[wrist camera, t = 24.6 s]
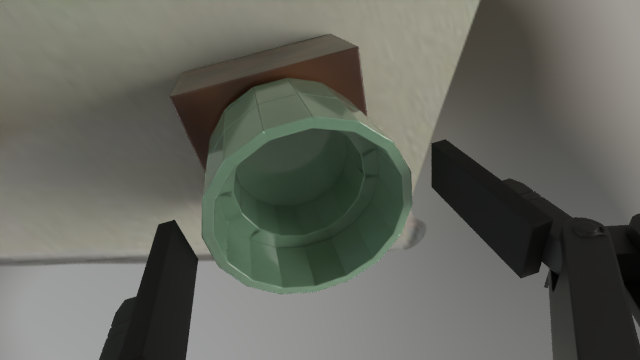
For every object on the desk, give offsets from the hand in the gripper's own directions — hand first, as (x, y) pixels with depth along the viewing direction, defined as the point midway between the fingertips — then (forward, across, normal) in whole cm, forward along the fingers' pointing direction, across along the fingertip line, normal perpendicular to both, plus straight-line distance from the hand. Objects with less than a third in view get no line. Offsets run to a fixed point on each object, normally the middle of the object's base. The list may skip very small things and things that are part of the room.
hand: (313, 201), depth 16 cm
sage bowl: (+6, 0, 0) cm, 6 cm away
